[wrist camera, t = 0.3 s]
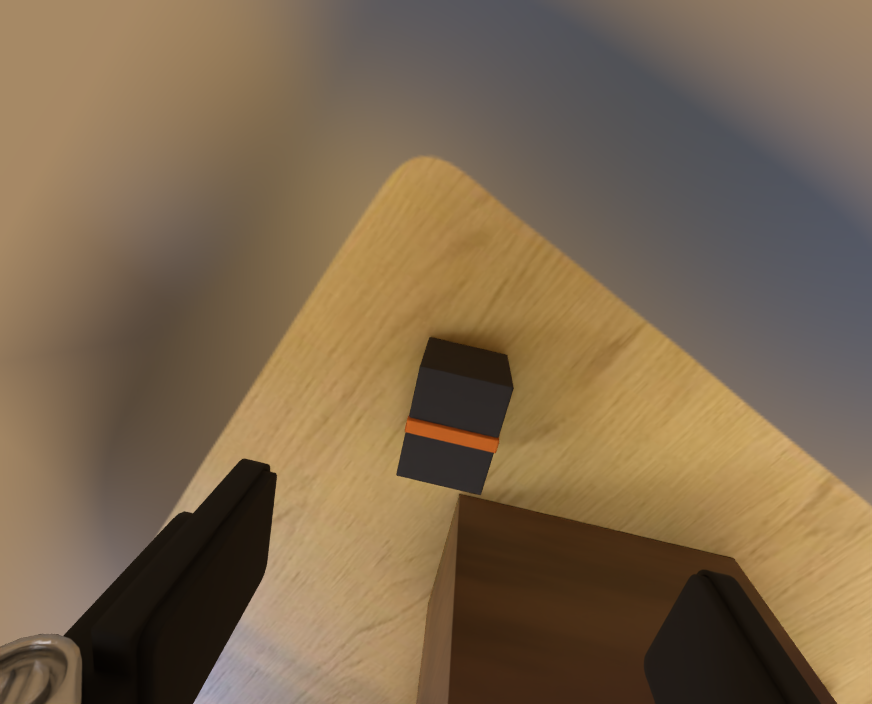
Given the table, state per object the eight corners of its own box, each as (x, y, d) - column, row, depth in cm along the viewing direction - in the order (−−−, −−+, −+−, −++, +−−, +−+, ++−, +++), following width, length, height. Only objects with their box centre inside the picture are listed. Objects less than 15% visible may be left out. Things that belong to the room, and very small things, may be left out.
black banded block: (407, 431, 30) (394, 478, 25) (428, 336, 27) (418, 367, 22) (480, 448, 30) (481, 499, 25) (508, 354, 27) (515, 390, 22)
